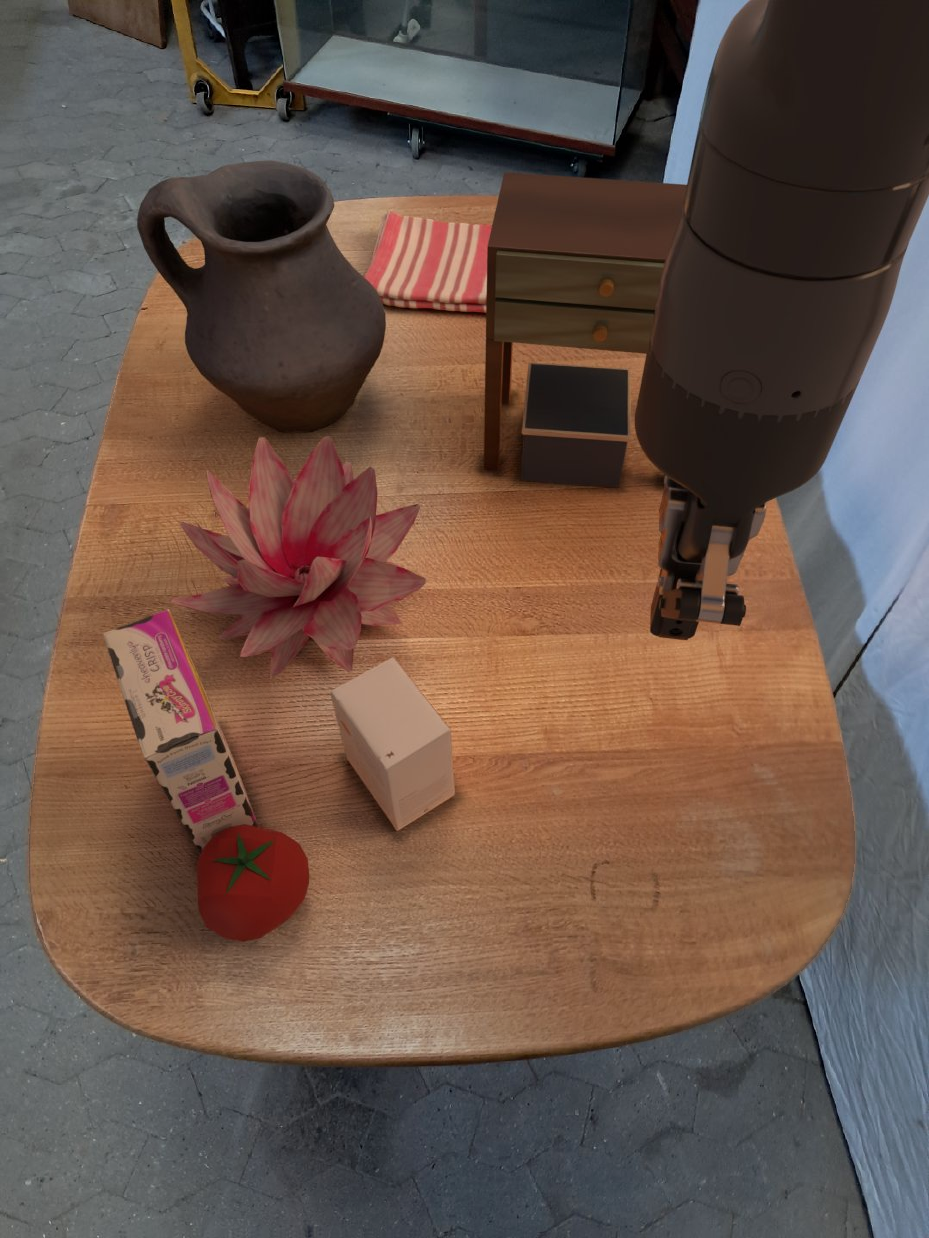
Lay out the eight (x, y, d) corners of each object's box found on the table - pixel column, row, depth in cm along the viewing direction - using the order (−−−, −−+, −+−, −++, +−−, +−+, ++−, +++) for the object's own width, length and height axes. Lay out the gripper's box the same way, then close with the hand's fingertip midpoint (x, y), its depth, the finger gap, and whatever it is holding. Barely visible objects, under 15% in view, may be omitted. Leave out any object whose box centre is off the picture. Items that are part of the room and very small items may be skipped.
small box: (456, 796, 72) (454, 731, 64) (396, 834, 70) (386, 771, 62) (402, 724, 76) (394, 653, 68) (344, 757, 74) (328, 689, 66)
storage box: (620, 489, 92) (630, 437, 87) (518, 482, 93) (521, 430, 87) (621, 421, 98) (630, 368, 93) (525, 414, 99) (528, 362, 93)
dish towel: (383, 232, 121) (381, 207, 118) (558, 243, 119) (560, 218, 116) (359, 309, 111) (356, 283, 108) (550, 322, 109) (552, 296, 106)
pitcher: (394, 464, 94) (373, 242, 74) (183, 475, 94) (105, 253, 74) (390, 342, 107) (372, 123, 87) (204, 351, 106) (142, 131, 86)
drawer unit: (678, 498, 91) (737, 275, 71) (481, 478, 93) (485, 255, 73) (678, 410, 99) (731, 187, 79) (497, 394, 101) (504, 172, 81)
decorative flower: (192, 726, 76) (140, 619, 64) (197, 537, 89) (154, 418, 76) (445, 691, 78) (441, 581, 66) (414, 511, 90) (406, 391, 78)
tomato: (215, 847, 70) (192, 807, 64) (319, 845, 70) (305, 804, 64) (198, 953, 65) (172, 920, 59) (310, 951, 65) (294, 918, 59)
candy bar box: (266, 835, 70) (219, 730, 57) (204, 863, 69) (141, 762, 56) (221, 723, 76) (169, 604, 63) (163, 747, 75) (97, 631, 62)
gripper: (892, 480, 28) (751, 749, 42) (846, 243, 36) (740, 537, 50) (647, 457, 29) (589, 729, 43) (654, 229, 36) (603, 523, 50)
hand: (670, 625), depth 46 cm, fingers closed
